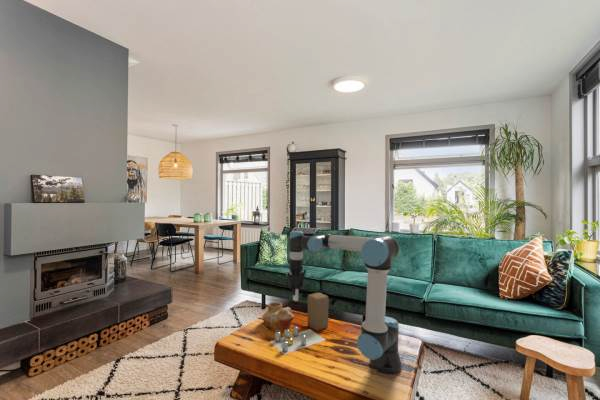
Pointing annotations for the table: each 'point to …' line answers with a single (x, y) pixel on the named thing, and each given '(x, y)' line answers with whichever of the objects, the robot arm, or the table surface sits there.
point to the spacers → (287, 333)
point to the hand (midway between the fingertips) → (295, 300)
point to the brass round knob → (290, 340)
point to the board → (310, 340)
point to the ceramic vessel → (278, 317)
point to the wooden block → (317, 311)
